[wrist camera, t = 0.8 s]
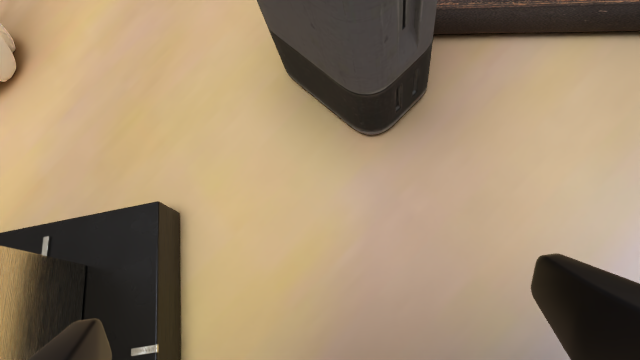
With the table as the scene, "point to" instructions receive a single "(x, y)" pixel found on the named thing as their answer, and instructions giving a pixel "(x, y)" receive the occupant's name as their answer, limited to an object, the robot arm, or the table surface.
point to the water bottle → (6, 55)
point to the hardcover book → (535, 16)
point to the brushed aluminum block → (36, 300)
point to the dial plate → (121, 274)
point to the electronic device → (356, 54)
